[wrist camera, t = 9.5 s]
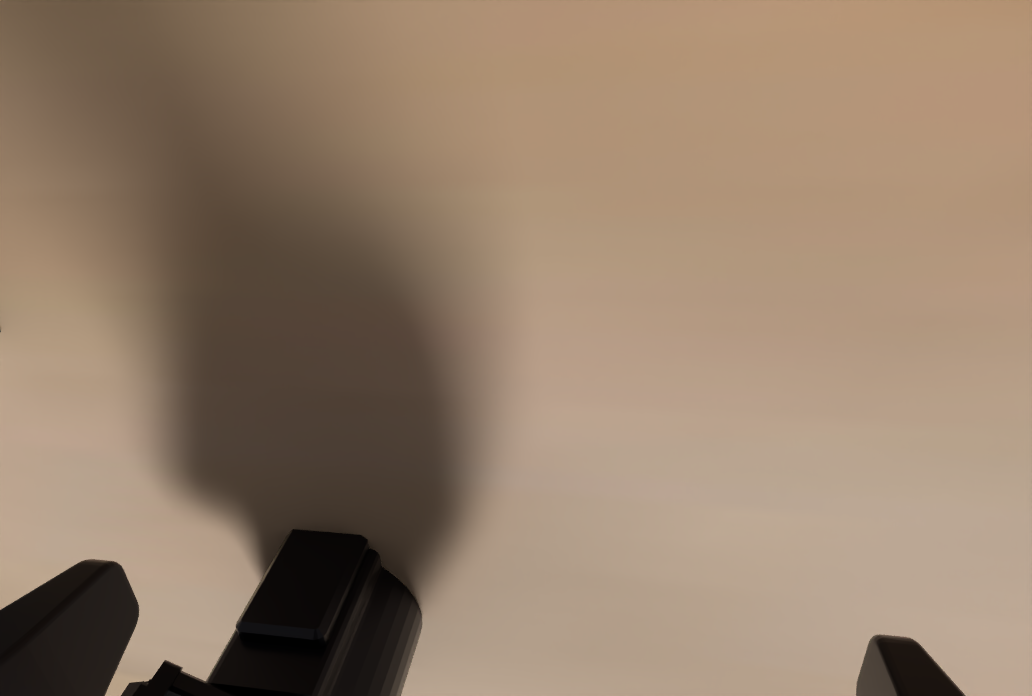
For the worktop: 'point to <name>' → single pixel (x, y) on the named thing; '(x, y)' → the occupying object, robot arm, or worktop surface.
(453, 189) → the worktop surface
